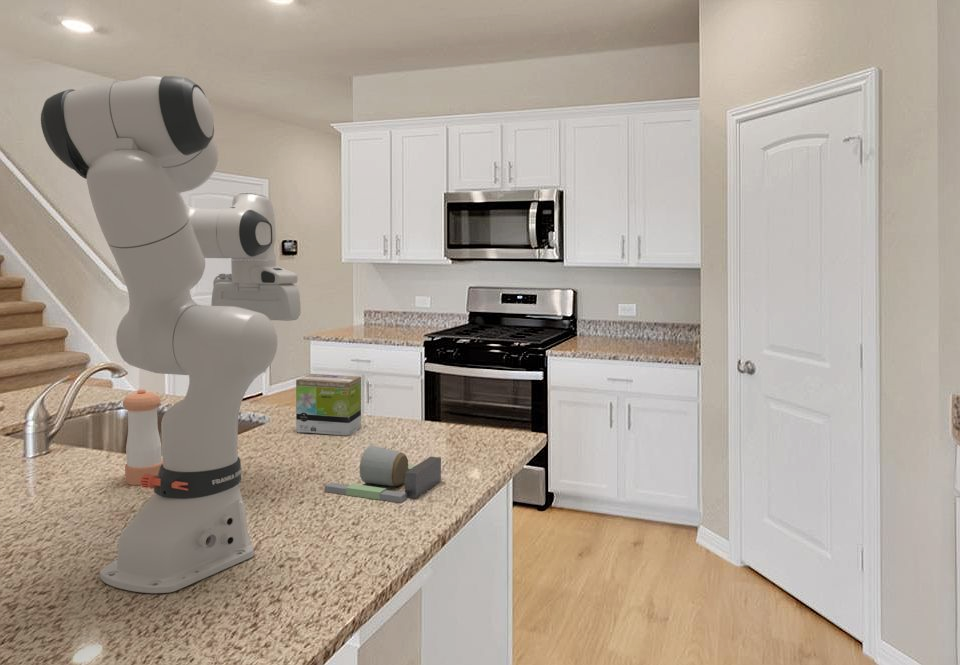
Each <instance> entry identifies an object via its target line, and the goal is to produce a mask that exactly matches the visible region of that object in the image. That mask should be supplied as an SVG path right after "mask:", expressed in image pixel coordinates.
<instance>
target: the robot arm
mask: <svg viewBox="0 0 960 665" xmlns="http://www.w3.org/2000/svg"><path fill="white" fill-rule="evenodd" d="M214 121H215V120H214V113H213V109H212V106H211V104H210V101H209V100H208V99H207V96H206V94H205V92H204V90H203V89H202V87H201V86H200V85H198V84H197V83H196V82H194V81H193V80H191V79H190V78H188V77H183V76H175V75H173V76H172V75H169V76H168V75H166V76H165V75H164V76H163V77H162V76H157V75H145V76H140V77H138V78H136V79H129V80H123V81H122V80H112V81H105V82H102V83H97V84H92V85H89V86H84V87H81V88H78V89H73V88H72V89H71V88H69V89H66V90H63V91H60V92H58V93H56V94H53V95H51V96H50V97H48V98H47V99H46V100H45V101H44V104H43V106H42V110H41V113H40V125H41V130H42V134H43V137H44V139H45V142H46V144H47V146H48V148H49V149H50V150H51V152H52V153H53V154H54V155H55V156H56V157H57V158H58V159H59V161H61V163H63V164H64V165H66V166H67V167H68V168H70V169H71V170H74V171H75V172H76V174H78V175H79V176H81V178H83V179H84V180H86V185H87V189H88V194H89V198H90V200H91V204H92V207H93V211H94V214H95V216H96V219H97V223H98V224H99V227H100V229H101V232H102V234H103V236H104V239H105V240H106V243H107V245H108V247H109V249H110V252H111V253H112V256H113V258H114V259H115V262H116V264H117V267H118V269H119V271H120V273H121V276H122V278H123V280H124V283H125V285H126V289H127V293H128V299H129V300H128V301H129V306H128V310H127V313H125V315H124V316H123V317H122V319H121V320H120V322H119V324H118V325H117V326H118V327H117V330H116V336H115V337H116V338H115V341H116V348H117V349H118V354H119V355H120V357H121V359H122V360H123V361H124V362H125V363H127V364H128V365H129V366H132V367H135V368H138V369H141V370H142V371H143V370H144V371H146V372H147V371H148V372H150V373H154V374H161V375H162V374H163V375H177V376H180V375H181V376H188V377H189V378H188V380H189V382H188V388H187V391H186V395H185V397H184V398H183V399H181V400H179V401H178V402H176V403H174V404H173V405H171V406H170V407H169V408H168V409H167V410H166V411H165V412H164V414H163V416H162V419H161V422H160V424H161V425H160V426H161V455H162V461H163V464H162V465H161V466H160V469H159V472H158V476H156V475H153V476H152V475H149V474H144V475H143V476H142V478H141V479H140V481H141V482H140V483H142V484H140V485H139V486H141V487H142V488H145V489H147V488H149V489H153V492H154V493H153V495H152V496H151V497H150V498H149V499H148V501H147V502H146V503H145V504H144V506H143V507H142V508H141V509H140V510H139V511H138V513H137V514H135V517H133V518H132V520H131V521H130V522H129V523H128V525H126V527H125V528H124V529H123V530H122V532H121V533H120V536H119V541H118V548H117V559H115V560H114V561H112V562H110V563H109V564H107V565H106V566H104V567H103V568H101V569H100V570H99V571H100V572H99V578H100V580H101V581H102V582H104V583H105V584H106V585H108V586H111V587H113V588H117V589H121V590H125V591H129V592H130V591H131V592H137V593H145V594H165V593H173V592H176V591H179V590H181V589H183V588H185V587H188V586H190V585H192V584H194V583H197V582H199V581H202V580H203V579H206V578H208V577H211V576H213V575H215V574H217V573H219V572H221V571H224V570H226V569H228V568H230V567H233V566H235V565H237V564H239V563H241V562H244V561H246V560H248V559H251V558H253V557H254V556H255V550H254V547H253V546H252V545H251V544H252V540H251V538H250V534H249V530H248V521H247V514H246V507H245V501H244V499H243V497H242V493H241V489H240V483H241V481H242V472H243V468H242V462H241V458H240V457H239V453H238V452H239V449H238V448H239V446H238V443H239V442H238V440H239V439H238V437H239V436H238V432H239V416H240V410H241V409H240V408H241V404H242V402H243V399H244V397H245V394H246V393H247V391H248V389H249V387H250V386H251V384H252V383H253V382H254V381H255V379H257V378H258V376H260V375H261V374H263V373H264V372H265V371H266V370H267V369H268V368H269V367H270V365H271V364H272V362H273V361H274V359H275V357H276V354H277V350H278V335H277V331H276V328H275V326H274V324H273V322H272V321H285V322H288V321H289V322H291V321H297V320H298V319H299V317H301V316H300V315H301V313H302V312H301V311H302V310H301V296H300V295H301V294H300V290H299V288H298V287H297V285H296V283H298V280H299V278H298V276H299V275H298V274H297V273H296V272H293V271H291V270H289V269H286V268H284V267H281V266H279V265H277V257H276V254H275V245H276V239H277V238H276V236H277V235H276V234H277V233H276V221H275V219H276V218H275V213H274V212H275V211H274V209H273V208H274V207H273V203H272V200H271V199H270V198H268V197H267V196H265V195H262V194H257V193H248V192H246V193H243V192H242V193H239V194H236V195H234V196H233V197H232V203H231V206H230V207H223V208H222V207H220V208H219V207H213V208H212V207H196V206H195V207H194V206H191V205H188V204H186V203H185V200H184V199H183V197H182V193H186V192H191V191H193V190H196V189H197V188H199V187H201V186H203V185H204V184H205V183H206V182H207V181H208V180H209V179H210V178H211V177H212V175H213V174H214V172H215V170H216V169H217V165H218V160H219V152H218V151H219V150H218V146H217V144H216V141H215V138H214V134H215V125H214V123H215V122H214ZM206 259H231V260H230V261H231V262H230V263H231V266H230V267H231V273H219V274H218V275H217V276H216V277H214V279H213V281H212V282H213V288H212V293H211V294H212V295H211V304H210V305H208V304H207V305H205V304H204V305H203V304H202V305H201V304H198V303H196V302H195V301H194V299H193V298H192V295H191V293H190V290H191V289H193V288H195V286H196V285H198V283H199V282H200V281H201V279H202V278H203V276H204V272H205V269H206Z"/></svg>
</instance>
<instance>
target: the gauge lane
mask: <svg viewBox="0 0 960 665" xmlns="http://www.w3.org/2000/svg"><path fill="white" fill-rule="evenodd" d="M415 466H416V465H413V464H408V470H410V469H411V468H413V467H415ZM323 487H324V489H323V490H324V491H326V492H325V493H330V492H333V493H332V494H337V493H339V494H338V495H344V494H346V495H345V496H349V495H351V496H352V497H356V496H357V498H362V497H364V498H363V499H369V498H370V499H372V500H376V499H377V501H384V500H386V501H385V502H391V503H392V502H393V503H398V504H399V503H400V504H401V503H403V502H404V501H405V500H407V497H406V493H405V492H403V491H395V490H389V489H387V488H385V487H377V486H370V485H364V484H357V483H352V484H346V483H338V482H329V483H327V484H325V485H324V486H323ZM351 496H350V497H351ZM370 499H369V500H370Z"/></svg>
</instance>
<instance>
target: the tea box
mask: <svg viewBox="0 0 960 665" xmlns="http://www.w3.org/2000/svg"><path fill="white" fill-rule="evenodd" d="M295 397H296V398H295V403H296V404H295V405H296V406H295V413H296V414H295V415H296V416H295V419H296V420H295V421H296V433H297V432H298V433H307V434H308V433H309V434H319V435H320V434H322V435H333V436H341V437H342V436H343V437H349V436H351V435H352V434H353V433H355V432H357V431H358V430H359V429H361V427H362V376H361V375H360V376H359V375H358V376H357V375H339V374H325V373H324V374H322V373H321V374H320V373H309V374H307V375H305V376H303V377H300V378H298V379H295Z"/></svg>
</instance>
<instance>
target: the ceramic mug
mask: <svg viewBox="0 0 960 665" xmlns="http://www.w3.org/2000/svg"><path fill="white" fill-rule="evenodd" d="M408 465H409V460H408V457H407V454H405V453H403V452H401V451H399V450H397V449H396V450H394V449H390V448H385V447H381V446H378V445H377V446H376V445H369V446H367V447H366V448H365V450H364V451H363V453H362V455H361V459H360V464H359V477H360V479H361V481H362V482H363V483H366V484H373V485H378V486H379V485H380V486H388V487H398V486H401V485H402V484H403V483H405V472H407V471H408Z"/></svg>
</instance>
